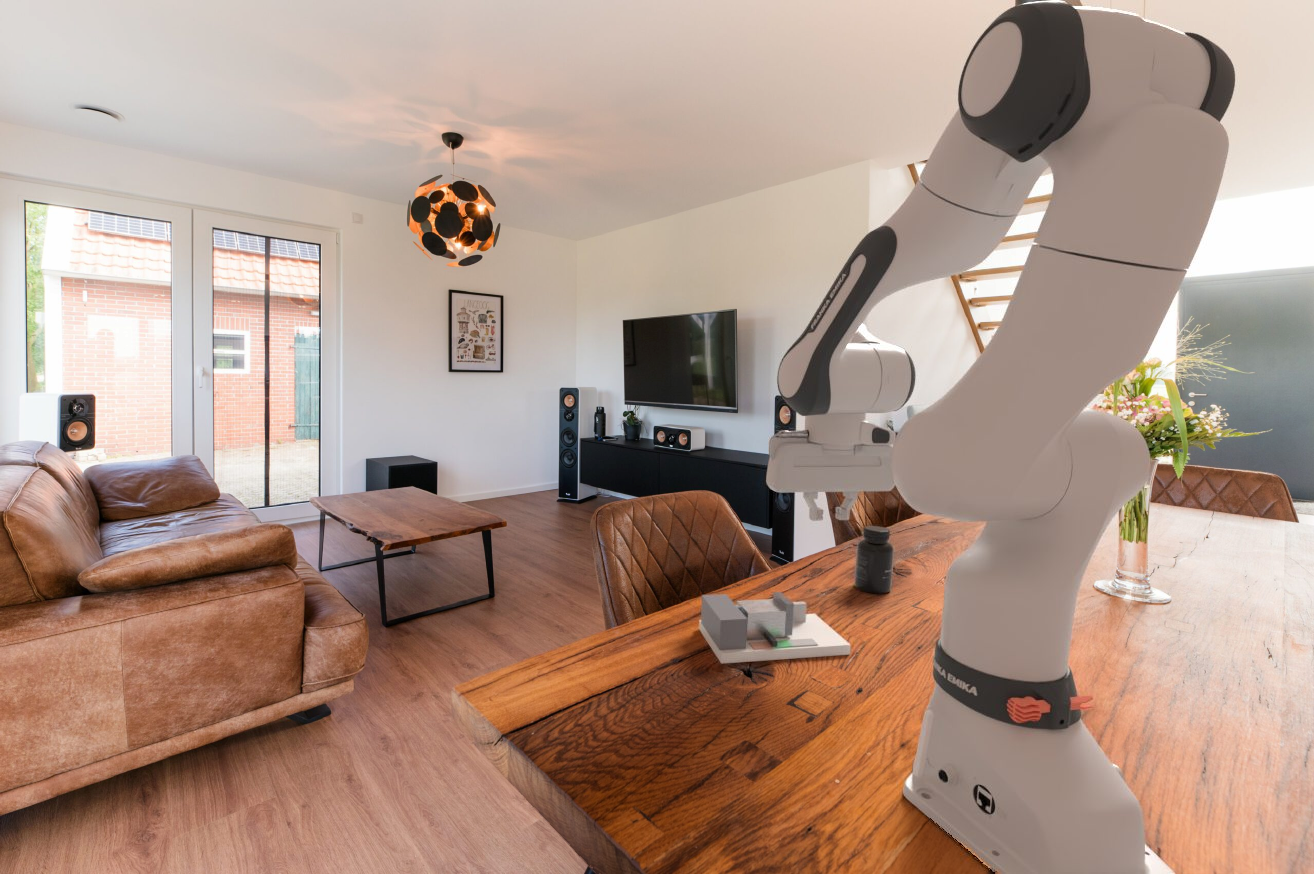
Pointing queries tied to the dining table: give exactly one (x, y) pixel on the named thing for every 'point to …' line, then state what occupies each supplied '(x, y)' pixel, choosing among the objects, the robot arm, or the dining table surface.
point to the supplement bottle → (874, 561)
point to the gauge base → (731, 645)
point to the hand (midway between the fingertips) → (829, 519)
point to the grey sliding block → (768, 617)
